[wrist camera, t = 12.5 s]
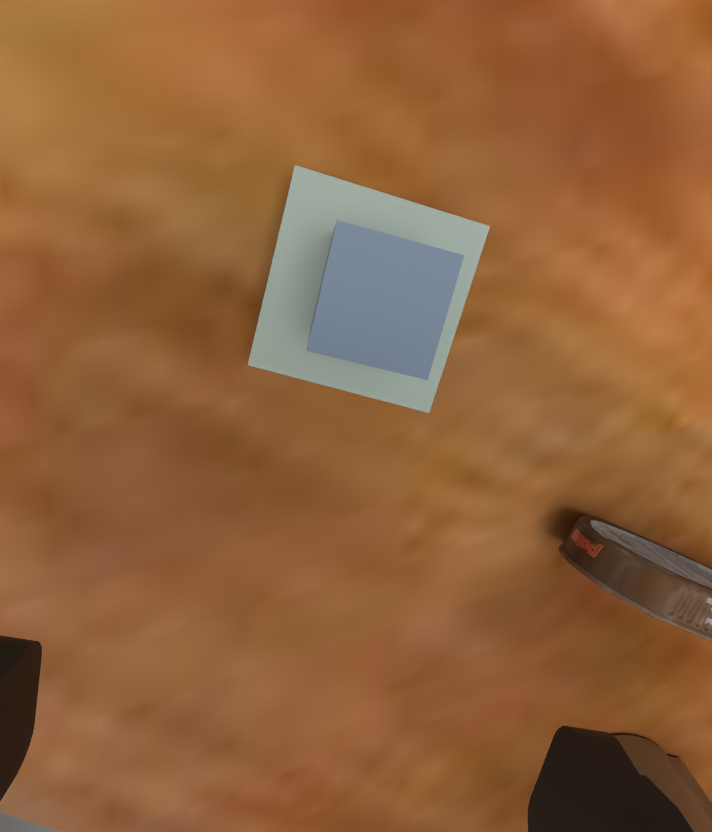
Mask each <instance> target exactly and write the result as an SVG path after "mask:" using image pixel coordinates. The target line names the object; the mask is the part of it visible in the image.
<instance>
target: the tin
mask: <svg viewBox="0 0 712 832" xmlns="http://www.w3.org/2000/svg"><path fill="white" fill-rule="evenodd" d="M559 550H560V552H561V554H562V556H563V557H564V558H565V559H566V560H567V561H568V562H569V563H570V564H571V565H572V566H573V567H575V568H576V569H577V570H578V571H579V572H581V573H582V574H583V575H585V576H586V577H587V578H589V579H590V580H592V581H593V582H594V583H596V584H597V585H599V586H600V587H602V588H603V589H604V590H606V591H608V592H609V593H611V594H612V595H614V596H616V597H617V598H619V599H621V600H623V601H624V602H626V603H628V604H630V605H631V606H633V607H635V608H637V609H638V610H640V611H642V612H644V613H646V614H648V615H650V616H652V617H654V618H656V619H658V620H661V621H663V622H665V623H667V624H669V625H672V626H674V627H677V628H679V629H681V630H684V631H686V632H689V633H691V634H694V635H696V636H698V637H701V638H703V639H705V640H708V641H710V642H712V569H711V568H709V567H707V566H705V565H703V564H701V563H699V562H697V561H694V560H692V559H690V558H688V557H686V556H683V555H681V554H679V553H677V552H675V551H673V550H670V549H668V548H666V547H664V546H662V545H660V544H657V543H655V542H653V541H651V540H648V539H646V538H644V537H642V536H639V535H637V534H635V533H632V532H630V531H628V530H625V529H623V528H621V527H618V526H616V525H614V524H611V523H609V522H606V521H604V520H601V519H598V518H595V517H592V516H587V515H583V516H580V517H579V518H578V519H577V521H576V522H575V524H574V526H573V527H572V529H571V531H570V533H569V534H568V536H567V538H566V540H565V542H564V543H563V544H561V545H560V547H559Z"/></svg>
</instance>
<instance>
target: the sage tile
mask: <svg viewBox="0 0 712 832" xmlns="http://www.w3.org/2000/svg"><path fill="white" fill-rule="evenodd" d="M337 220H338V221H342V222H346V223H349V224H353V225H356V226H360V227H364V228H367V229H371V230H375V231H378V232H382V233H385V234H389V235H393V236H396V237H400V238H404V239H407V240H411V241H414V242H418V243H422V244H425V245H429V246H433V247H436V248H440V249H443V250H447V251H451V252H454V253H458V254H462V255H464V258H463V262H462V265H461V269H460V272H459V275H458V279H457V282H456V286H455V289H454V292H453V296H452V299H451V303H450V306H449V309H448V313H447V316H446V320H445V323H444V326H443V330H442V333H441V337H440V340H439V343H438V347H437V350H436V354H435V357H434V360H433V364H432V367H431V371H430V374H429V377H428V380H424V379H420V378H416V377H412V376H408V375H404V374H400V373H396V372H392V371H388V370H383V369H379V368H375V367H371V366H367V365H363V364H359V363H355V362H351V361H347V360H343V359H338V358H334V357H330V356H326V355H322V354H318V353H314V352H310V351H306V350H307V345H308V339H309V334H310V329H311V325H312V320H313V316H314V312H315V307H316V303H317V299H318V295H319V290H320V286H321V282H322V278H323V273H324V269H325V265H326V260H327V256H328V252H329V248H330V243H331V239H332V235H333V231H334V228H335V225H336V222H337ZM489 228H490V226H487V225H484V224H481V223H478V222H475V221H472V220H468V219H465V218H462V217H459V216H456V215H452V214H449V213H446V212H443V211H440V210H437V209H433V208H430V207H427V206H424V205H421V204H417V203H414V202H411V201H408V200H405V199H402V198H398V197H395V196H392V195H389V194H386V193H382V192H379V191H376V190H373V189H370V188H366V187H363V186H360V185H357V184H354V183H351V182H347V181H344V180H341V179H338V178H335V177H331V176H328V175H325V174H322V173H319V172H316V171H312V170H309V169H306V168H303V167H300V166H296V165H295V167H294V172H293V176H292V180H291V184H290V189H289V193H288V197H287V201H286V205H285V210H284V214H283V218H282V222H281V227H280V231H279V235H278V239H277V243H276V248H275V252H274V256H273V260H272V265H271V269H270V273H269V277H268V281H267V286H266V290H265V294H264V298H263V303H262V307H261V311H260V315H259V319H258V324H257V328H256V332H255V336H254V341H253V345H252V349H251V353H250V357H249V362H248V365H249V366H253V367H257V368H260V369H264V370H268V371H272V372H275V373H279V374H283V375H287V376H291V377H294V378H298V379H302V380H306V381H309V382H313V383H317V384H321V385H325V386H328V387H332V388H336V389H340V390H343V391H347V392H351V393H355V394H359V395H362V396H366V397H370V398H374V399H377V400H381V401H385V402H389V403H393V404H396V405H400V406H404V407H408V408H411V409H415V410H419V411H423V412H427V413H429V412H430V409H431V406H432V403H433V400H434V397H435V394H436V391H437V388H438V385H439V382H440V378H441V375H442V372H443V369H444V366H445V363H446V360H447V357H448V354H449V351H450V348H451V345H452V342H453V339H454V335H455V332H456V329H457V326H458V323H459V320H460V317H461V314H462V311H463V308H464V305H465V302H466V299H467V295H468V292H469V289H470V286H471V283H472V280H473V277H474V274H475V271H476V268H477V265H478V262H479V259H480V256H481V252H482V249H483V246H484V243H485V240H486V237H487V234H488V231H489Z"/></svg>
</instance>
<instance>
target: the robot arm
mask: <svg viewBox="0 0 712 832" xmlns="http://www.w3.org/2000/svg"><path fill="white" fill-rule="evenodd" d="M41 656H42V647H41V644H40V642H38V641H32V640H26V639H19V638H13V637H7V636H0V801H1V799H2V798H3V796H4V794H5V793H6V791H7V790H8V788H9V786H10V785H11V783H12V782H13V780H14V778H15V777H16V775H17V773H18V771H19V769H20V767H21V765H22V763H23V760H24V758H25V756H26V753H27V750H28V748H29V745H30V742H31V738H32V734H33V730H34V723H35V713H36V704H37V694H38V685H39V675H40V666H41ZM528 831H529V832H712V802H711V801H710V799H709V798H708V797H707V795H706V794H705V792H704V791H703V790H702V788H701V787H700V786H699V784H698V783H697V781H696V780H695V779H694V777H693V776H692V775H691V773H690V772H689V770H688V769H687V768H686V766H685V765H684V764H683V762H682V761H681V759H680V758H677V757H671V756H668V755H667V754H666V753H665V752H664V751H663V750H662V749H661V748H660V747H659V746H658V745H656V744H655V743H653V742H651V741H650V740H647V739H644V738H642V737H639V736H632V735H612V734H610V733H607V732H601V731H594V730H588V729H582V728H575V727H569V726H562V727H560V728H559V729H558V730H557V731H556V733H555V735H554V737H553V740H552V743H551V745H550V748H549V750H548V753H547V756H546V758H545V761H544V764H543V766H542V769H541V772H540V774H539V777H538V779H537V782H536V785H535V787H534V790H533V793H532V795H531V798H530V802H529V807H528Z"/></svg>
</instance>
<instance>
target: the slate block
mask: <svg viewBox="0 0 712 832" xmlns="http://www.w3.org/2000/svg"><path fill="white" fill-rule="evenodd" d="M463 258H464V255H462V254H458V253H454V252H451V251H447V250H443V249H440V248H436V247H433V246H429V245H425V244H422V243H418V242H414V241H411V240H407V239H404V238H400V237H396V236H393V235H389V234H385V233H382V232H378V231H375V230H371V229H367V228H364V227H360V226H356V225H353V224H349V223H346V222H342V221H338V220H337V222H336V225H335V228H334V231H333V235H332V239H331V243H330V248H329V252H328V256H327V260H326V265H325V269H324V273H323V278H322V282H321V286H320V290H319V295H318V299H317V303H316V307H315V312H314V316H313V320H312V325H311V329H310V334H309V339H308V345H307V350H306V351H310V352H314V353H318V354H322V355H326V356H330V357H334V358H338V359H343V360H347V361H351V362H355V363H359V364H363V365H367V366H371V367H375V368H379V369H383V370H388V371H392V372H396V373H400V374H404V375H408V376H412V377H416V378H420V379H424V380H428V377H429V374H430V371H431V367H432V364H433V360H434V357H435V354H436V350H437V347H438V343H439V340H440V337H441V333H442V330H443V326H444V323H445V320H446V316H447V313H448V309H449V306H450V303H451V299H452V296H453V292H454V289H455V286H456V282H457V279H458V275H459V272H460V269H461V265H462V262H463Z"/></svg>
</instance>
